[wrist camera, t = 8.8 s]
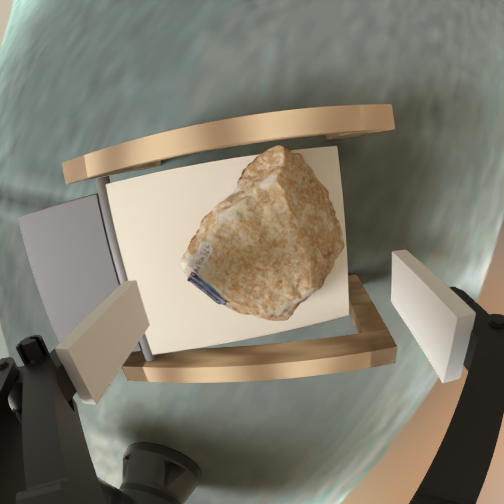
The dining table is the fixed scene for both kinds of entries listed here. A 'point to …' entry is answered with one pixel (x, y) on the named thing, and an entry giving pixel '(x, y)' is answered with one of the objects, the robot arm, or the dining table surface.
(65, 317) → the trapdoor
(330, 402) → the dining table surface
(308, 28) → the dining table surface
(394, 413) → the dining table surface
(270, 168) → the stone
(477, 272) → the dining table surface
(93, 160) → the frame
